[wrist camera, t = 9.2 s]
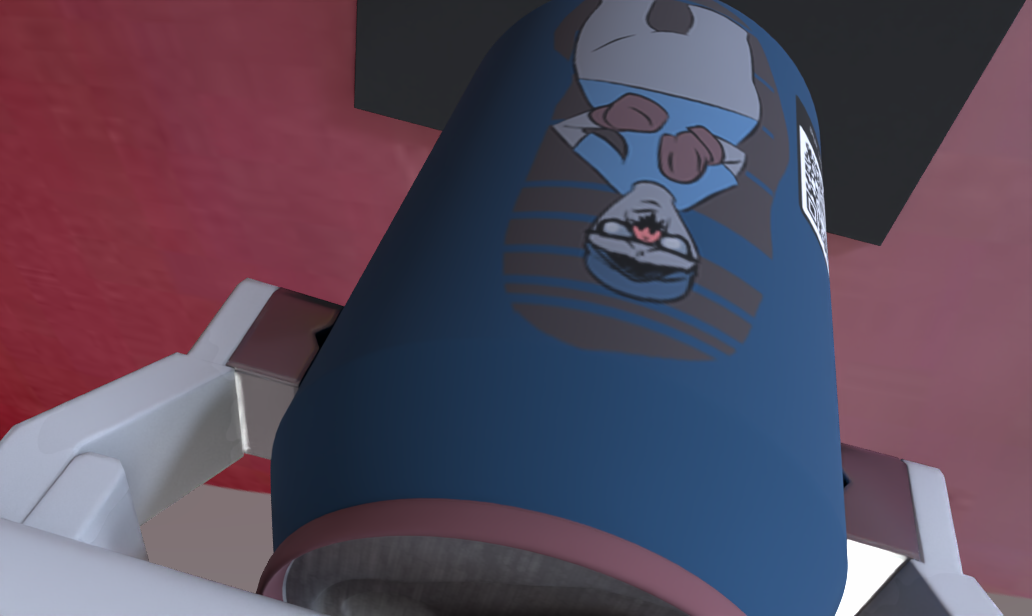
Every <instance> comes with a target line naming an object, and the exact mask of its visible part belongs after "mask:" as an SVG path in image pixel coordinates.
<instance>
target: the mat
mask: <svg viewBox="0 0 1032 616" xmlns="http://www.w3.org/2000/svg"><path fill="white" fill-rule="evenodd" d="M549 1H551V0H357V28H356V64H355V99H354V108H357V109H361V110H365V111H369V112H372V113H376V114H380V115H384V116H388V117H391V118H395V119H399V120H403V121H407V122H410V123H414V124H418V125H422V126H426V127H430V128H433V129H437V130H441V131H443V129H444V128H445V126H446V124H447V122H448V120H449V119H450V117H451V115H452V113H453V111H454V110H455V108H456V106H457V104H458V102H459V101H460V99H461V97H462V95H463V94H464V92H465V90H466V88H467V86H468V85H469V83H470V81H471V79H472V77H473V76H474V74H475V72H476V70H477V69H478V67H479V65H480V63H481V62H482V60H483V58H484V57H485V56H486V54H487V53H488V51H489V50H490V48H491V47H492V46H493V45H494V44H495V43H496V41H497V40H498V39H499V38H500V37H501V36H502V35H503V34H504V33H505V32H506V31H507V30H508V29H509V28H510V27H511V26H513V25H514V24H515V23H516V22H517V21H519V20H520V19H521V18H523V17H524V16H525V15H527V14H528V13H530V12H531V11H533V10H534V9H536V8H538V7H540V6H541V5H543V4H545V3H547V2H549ZM719 1H721V2H723V3H725V4H727V5H729V6H731V7H733V8H734V9H736V10H738V11H740V12H741V13H743V14H744V15H746V16H747V17H748V18H750V19H751V20H753V21H754V22H755V23H757V24H758V25H759V26H760V27H761V28H763V29H764V30H765V31H766V32H767V33H768V34H769V35H770V36H771V37H772V38H773V39H774V40H775V41H777V43H778V44H779V45H780V46H781V47H782V48H783V49H784V51H785V52H786V53H787V54H788V56H789V57H790V58H791V60H792V61H793V63H794V64H795V65H796V67H797V69H798V70H799V72H800V74H801V76H802V77H803V79H804V81H805V84H806V86H807V88H808V90H809V92H810V95H811V98H812V100H813V103H814V107H815V110H816V114H817V118H818V124H819V131H820V146H821V160H822V175H823V190H824V205H825V220H826V232H829V233H832V234H836V235H840V236H844V237H848V238H851V239H855V240H859V241H863V242H867V243H870V244H874V245H878V246H881V244H882V242H883V241H884V239H885V237H886V236H887V234H888V232H889V230H890V229H891V227H892V225H893V224H894V222H895V220H896V219H897V217H898V215H899V214H900V212H901V210H902V209H903V207H904V205H905V203H906V202H907V200H908V198H909V197H910V195H911V193H912V192H913V190H914V188H915V187H916V185H917V183H918V182H919V180H920V178H921V176H922V175H923V173H924V171H925V170H926V168H927V166H928V165H929V163H930V161H931V160H932V158H933V156H934V154H935V153H936V151H937V149H938V148H939V146H940V144H941V143H942V141H943V139H944V138H945V136H946V134H947V133H948V131H949V129H950V127H951V126H952V124H953V122H954V121H955V119H956V117H957V116H958V114H959V112H960V111H961V109H962V107H963V106H964V104H965V102H966V100H967V99H968V97H969V95H970V94H971V92H972V90H973V89H974V87H975V85H976V84H977V82H978V80H979V78H980V77H981V75H982V73H983V72H984V70H985V68H986V67H987V65H988V63H989V62H990V60H991V58H992V57H993V55H994V53H995V51H996V50H997V48H998V46H999V45H1000V43H1001V41H1002V40H1003V38H1004V36H1005V35H1006V33H1007V31H1008V30H1009V28H1010V26H1011V24H1012V23H1013V21H1014V19H1015V18H1016V16H1017V14H1018V13H1019V11H1020V9H1021V8H1022V6H1023V4H1024V3H1025V1H1026V0H719Z"/></svg>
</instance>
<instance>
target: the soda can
mask: <svg viewBox="0 0 1032 616" xmlns="http://www.w3.org/2000/svg"><path fill="white" fill-rule="evenodd" d="M271 504H272V505H271V506H272V527H273V528H272V530H273V550H274V553H273V555H272V556H271V558H270V559H269V561H268V563H267V565H266V567H265V569H264V571H263V573H262V575H261V578H260V581H259V584H258V588H257V591H256V594H259V595H263V596H266V597H269V598H273V599H276V600H280V601H283V602H286V603H290V604H293V605H296V606H300V607H303V608H306V609H310V610H313V611H317V612H320V613H323V614H327V615H330V616H835V615H836V613H837V611H838V608H839V606H840V603H841V601H842V598H843V596H844V592H845V587H846V583H847V578H848V566H849V565H848V549H847V534H846V519H845V504H844V489H843V474H842V459H841V444H840V429H839V414H838V399H837V384H836V369H835V355H834V340H833V325H832V310H831V295H830V280H829V265H828V250H827V235H826V220H825V205H824V190H823V175H822V160H821V146H820V131H819V124H818V118H817V114H816V110H815V107H814V103H813V100H812V98H811V95H810V92H809V90H808V88H807V86H806V84H805V81H804V79H803V77H802V76H801V74H800V72H799V70H798V69H797V67H796V65H795V64H794V63H793V61H792V60H791V58H790V57H789V56H788V54H787V53H786V52H785V51H784V49H783V48H782V47H781V46H780V45H779V44H778V43H777V41H775V40H774V39H773V38H772V37H771V36H770V35H769V34H768V33H767V32H766V31H765V30H764V29H763V28H761V27H760V26H759V25H758V24H757V23H755V22H754V21H753V20H751V19H750V18H748V17H747V16H746V15H744V14H743V13H741V12H740V11H738V10H736V9H734V8H733V7H731V6H729V5H727V4H725V3H723V2H721V1H719V0H551V1H549V2H547V3H545V4H543V5H541V6H540V7H538V8H536V9H534V10H533V11H531V12H530V13H528V14H527V15H525V16H524V17H523V18H521V19H520V20H519V21H517V22H516V23H515V24H514V25H513V26H511V27H510V28H509V29H508V30H507V31H506V32H505V33H504V34H503V35H502V36H501V37H500V38H499V39H498V40H497V41H496V43H495V44H494V45H493V46H492V47H491V48H490V50H489V51H488V53H487V54H486V56H485V57H484V58H483V60H482V62H481V63H480V65H479V67H478V69H477V70H476V72H475V74H474V76H473V77H472V79H471V81H470V83H469V85H468V86H467V88H466V90H465V92H464V94H463V95H462V97H461V99H460V101H459V102H458V104H457V106H456V108H455V110H454V111H453V113H452V115H451V117H450V119H449V120H448V122H447V124H446V126H445V128H444V129H443V131H442V133H441V135H440V137H439V138H438V140H437V142H436V144H435V145H434V147H433V149H432V151H431V153H430V154H429V156H428V158H427V160H426V162H425V163H424V165H423V167H422V169H421V171H420V172H419V174H418V176H417V178H416V179H415V181H414V183H413V185H412V187H411V188H410V190H409V192H408V194H407V196H406V197H405V199H404V201H403V203H402V205H401V206H400V208H399V210H398V212H397V213H396V215H395V217H394V219H393V221H392V222H391V224H390V226H389V228H388V230H387V231H386V233H385V235H384V237H383V239H382V240H381V242H380V244H379V246H378V247H377V249H376V251H375V253H374V255H373V256H372V258H371V260H370V262H369V264H368V265H367V267H366V269H365V271H364V273H363V274H362V276H361V278H360V280H359V281H358V283H357V285H356V287H355V289H354V290H353V292H352V294H351V296H350V298H349V299H348V301H347V303H346V305H345V307H344V308H343V310H342V312H341V314H340V316H339V317H338V319H337V321H336V323H335V324H334V326H333V328H332V330H331V332H330V333H329V335H328V337H327V339H326V341H325V342H324V344H323V346H322V348H321V350H320V351H319V353H318V355H317V357H316V358H315V360H314V362H313V364H312V366H311V367H310V369H309V371H308V373H307V375H306V376H305V378H304V380H303V382H302V384H301V385H300V387H299V389H298V391H297V392H296V394H295V396H294V398H293V400H292V401H291V403H290V405H289V407H288V409H287V410H286V412H285V414H284V416H283V418H282V419H281V422H280V424H279V426H278V429H277V431H276V435H275V439H274V443H273V447H272V455H271Z"/></svg>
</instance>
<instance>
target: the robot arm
mask: <svg viewBox="0 0 1032 616" xmlns="http://www.w3.org/2000/svg"><path fill="white" fill-rule="evenodd" d="M344 307H345V306H341V305H338V304H335V303H331V302H328V301H325V300H321V299H318V298H315V297H312V296H308V295H305V294H302V293H298V292H295V291H292V290H288V289H285V288H282V287H277V286H273V285H270V284H267V283H263V282H260V281H257V280H253V279H250V278H246V279H245V280H243V281H242V282H240V283H239V284H238V285H237V286H236V287H235V289H234V290H233V291H232V293H231V294H230V296H229V297H228V298H227V300H226V301H225V303H224V304H223V305H222V307H221V308H220V309H219V311H218V312H217V314H216V315H215V316H214V318H213V319H212V320H211V322H210V323H209V325H208V326H207V327H206V329H205V330H204V332H203V333H202V334H201V336H200V337H199V338H198V340H197V341H196V343H195V344H194V345H193V347H192V348H191V349H190V351H189V352H188V354H187V355H185V354H181V353H177V352H176V353H174V354H172V355H170V356H168V357H165V358H163V359H161V360H159V361H156V362H154V363H152V364H150V365H148V366H145V367H143V368H141V369H139V370H136V371H134V372H132V373H130V374H128V375H125V376H123V377H121V378H119V379H116V380H114V381H112V382H110V383H108V384H105V385H103V386H101V387H99V388H97V389H94V390H92V391H90V392H88V393H85V394H83V395H81V396H79V397H77V398H74V399H72V400H70V401H68V402H65V403H63V404H61V405H59V406H57V407H54V408H52V409H50V410H48V411H45V412H43V413H41V414H39V415H37V416H34V417H32V418H30V419H28V420H26V421H23V422H21V423H19V424H17V425H14V426H13V427H12V428H11V429H10V430H9V432H8V433H7V434H6V435H5V436H4V437H3V439H2V440H1V441H0V616H330V615H327V614H323V613H320V612H317V611H313V610H310V609H306V608H303V607H300V606H296V605H293V604H290V603H286V602H283V601H280V600H276V599H273V598H269V597H266V596H263V595H259V594H256V593H252V592H249V591H246V590H242V589H239V588H236V587H232V586H229V585H226V584H222V583H219V582H216V581H212V580H209V579H205V578H202V577H199V576H195V575H192V574H189V573H185V572H182V571H178V570H175V569H172V568H168V567H165V566H162V565H158V564H155V563H151V562H149V559H148V555H147V552H146V548H145V545H144V541H143V537H142V533H141V530H140V526H141V525H143V524H144V523H146V522H147V521H148V520H150V519H152V518H153V517H154V516H156V515H157V514H159V513H160V512H162V511H163V510H165V509H166V508H168V507H169V506H171V505H172V504H174V503H175V502H176V501H178V500H180V499H181V498H183V497H184V496H186V495H187V494H189V493H190V492H191V491H193V490H194V489H196V488H197V487H199V486H200V485H202V484H203V483H205V482H206V481H208V480H209V479H211V478H212V477H214V476H215V475H217V474H218V473H220V472H221V471H223V470H224V469H226V468H227V467H228V466H230V465H231V464H233V463H234V462H236V461H237V460H239V459H240V458H242V457H243V456H244V453H247V454H251V455H255V456H258V457H262V458H266V459H270V460H271V455H272V447H273V443H274V439H275V435H276V431H277V429H278V426H279V424H280V422H281V419H282V418H283V416H284V414H285V412H286V410H287V409H288V407H289V405H290V403H291V401H292V400H293V398H294V396H295V394H296V392H297V391H298V389H299V387H300V385H301V384H302V382H303V380H304V378H305V376H306V375H307V373H308V371H309V369H310V367H311V366H312V364H313V362H314V360H315V358H316V357H317V355H318V353H319V351H320V350H321V348H322V346H323V344H324V342H325V341H326V339H327V337H328V335H329V333H330V332H331V330H332V328H333V326H334V324H335V323H336V321H337V319H338V317H339V316H340V314H341V312H342V310H343V308H344ZM840 444H841V459H842V474H843V489H844V504H845V519H846V534H847V549H848V565H849V566H848V578H847V583H846V587H845V592H844V596H843V598H842V601H841V603H840V606H839V608H838V611H837V613H836V615H835V616H1004V615H1003V614H1002V613H1001V611H1000V610H999V609H998V607H997V606H996V605H995V604H994V602H993V601H992V600H991V599H990V597H989V596H988V595H987V593H986V592H985V591H984V590H983V588H982V587H981V586H980V585H979V583H978V582H977V581H976V579H975V578H974V577H971V576H968V575H964V574H963V572H962V567H961V561H960V556H959V551H958V546H957V540H956V535H955V530H954V525H953V520H952V514H951V509H950V504H949V499H948V493H947V488H946V483H945V478H944V475H943V474H942V472H941V471H940V469H937V468H934V467H930V466H926V465H923V464H919V463H915V462H911V461H908V460H904V459H899V458H897V457H894V456H890V455H886V454H882V453H878V452H875V451H871V450H867V449H863V448H860V447H856V446H852V445H848V444H844V443H841V442H840Z"/></svg>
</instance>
